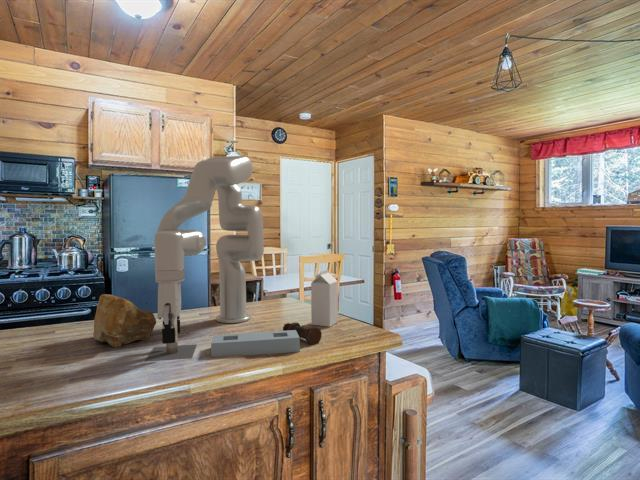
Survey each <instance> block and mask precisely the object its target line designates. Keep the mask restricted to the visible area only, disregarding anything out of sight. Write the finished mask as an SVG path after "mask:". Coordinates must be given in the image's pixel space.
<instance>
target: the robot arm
mask: <svg viewBox="0 0 640 480" xmlns="http://www.w3.org/2000/svg"><path fill="white" fill-rule="evenodd" d="M193 167H194V168H193V170H192V173H191V175H190V179H189V182H188V185H187V187H186V190H185V193H184V196H183V198H181V200H179V201H177V202H176V203H175V204H174V205H173V206H172V207H171V208H170V209H168V210H167V212H165V214H164V215H163V217H162V218H161V220H160V222H159V224H158V228H157V230H156V233H155V234H154V236H153V237H154V239H153V240H154V270H155V271H154V272H155V273H154V275H155V277H154V278H155V283H158V285H157V319H158V320H161V319H162V325H161V337H162V338H161V341H162V344H163V345H164V344H165V345H166V343H175V328H174V319H175V318H176V317H177V335H180V334H181V319H180V316H181V315H180V314H181V312H182V289H181V287H182V285H181V282H182V283H183V282H185V256H197V255H199V254H201V253H202V252H203V251H204V250H205V248H206V243H207V240H206V237H205V235H204V233H202V232H201V231H199V230H196V229H179V228H180V226H182V224H183V223H184V222H187V221H188V220H190V219H192V218H194V217H196V216H200V215H201V214H203V213H205V212H207V211H209V210H210V209H211V207H212V205H213V202H214V198H215V194H216V193H217V201H218V202H217V203H218V221H219V227H220V228H221V229H222V230H224V231H226V232H247V234H226V235H221V236H220V237H219V238H217V240H216V244H215V250H216V255H217V261H218V268H219V269H218V270H219V271H218V272H219V311H220V314H219V315H216V317H215V320H216V321H217V322H218V323H221V324H237V323H244V322H246V321H250V320H251V314H250V313H248V312H247V286H246V284H247V283H246V282H247V279H246V278H247V277H246V270H245V268H244V266H243V264H242V263H241V261H242V262H247V261H248V262H252V261H253V262H255V261H259V260H261V259H262V258H263V255H264V251H265V249H264V248H265V242H264V240H265V238H264V236H265V235H264V219H263V218H264V217H263V213H262V210H261V209H260V207H258V206H257V205H254V204H243V198H242V197H243V196H242V195H243V194H242V193H243V192H242V189H241V187H240V186H239V185H238V184H242V183H244V182H246V181H248V180H249V179H250V178H251V177H252V174H253V167H254V166H253V163H252V160H250V158H249V157H248V156H246V155H231V156H229V155H228V156H212V157H209V158H207V159H204V160H200V161H198V162H197V163H196V164H195V165H194V166H193ZM169 316H172V317H169ZM170 320H171V321H170Z"/></svg>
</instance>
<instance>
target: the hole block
mask: <svg viewBox="0 0 640 480" xmlns="http://www.w3.org/2000/svg"><path fill="white" fill-rule="evenodd" d="M300 341H301V337H299V335H298V333H297V331H296V330H287V331H283V330H273V331H259V332H257V331H255V332H244V333H241V332H240V333H239V332H238V333H226V334H213V335H212V338H211V342H210V350H211V351H210V352H211V355H210V356H211V357H212V358H213V357H215V358H216V357H224V356H225V357H226V356H238V355H239V356H240V355H241V356H243V355H245V356H257V355H259V356H261V355H270V354H271V355H272V354H284V353H298V352H299V353H300V351H301V349H300V348H301V347H300V346H301V345H300V343H301V342H300Z"/></svg>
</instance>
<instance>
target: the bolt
mask: <svg viewBox="0 0 640 480" xmlns="http://www.w3.org/2000/svg"><path fill="white" fill-rule="evenodd" d="M287 330H296V331H297V333H298V335H299V337H300V339H301V338H302V339H304V340H305V341H306V343H307V345H310V346H314V345H317V344H319V343H320V341H321V340H322V336H323V335H322V334H323V333H322V331H321V329H320V328H319V326H318V325H313V326H310V327H309V326H308V327H304V326H301V325H300V323H299V322H291V323H290V322H287V323H284V324H283V327H282V331H287Z"/></svg>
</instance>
